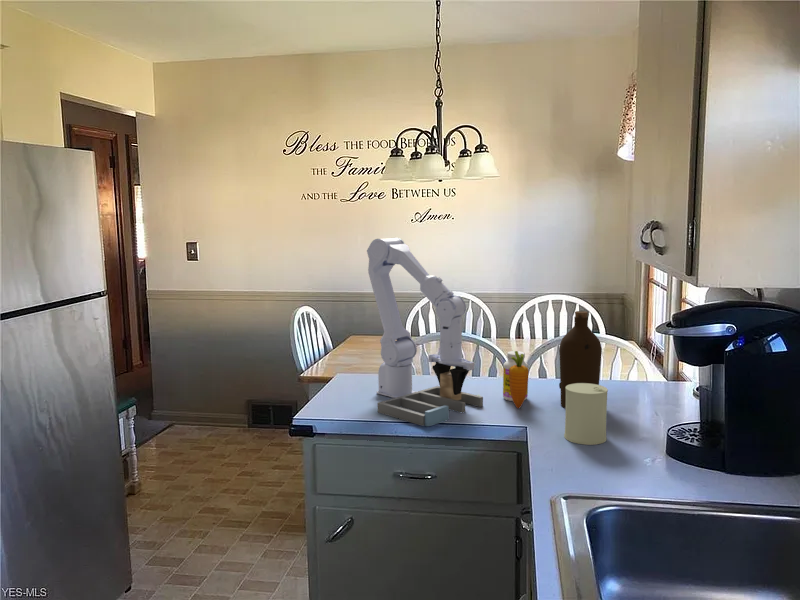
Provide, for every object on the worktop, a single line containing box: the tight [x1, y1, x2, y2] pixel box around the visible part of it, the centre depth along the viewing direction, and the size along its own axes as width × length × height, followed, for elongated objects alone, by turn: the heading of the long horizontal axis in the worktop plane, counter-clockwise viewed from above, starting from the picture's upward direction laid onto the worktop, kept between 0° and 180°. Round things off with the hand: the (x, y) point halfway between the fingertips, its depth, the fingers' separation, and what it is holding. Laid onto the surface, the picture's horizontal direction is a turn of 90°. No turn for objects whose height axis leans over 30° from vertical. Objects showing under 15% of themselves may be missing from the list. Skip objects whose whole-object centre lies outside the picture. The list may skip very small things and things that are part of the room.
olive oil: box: [558, 310, 603, 409], centre depth 171 cm, size 11×11×25 cm
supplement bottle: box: [502, 350, 529, 402], centre depth 179 cm, size 7×7×13 cm
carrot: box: [509, 350, 530, 410], centre depth 170 cm, size 5×5×15 cm
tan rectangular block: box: [439, 371, 461, 401], centre depth 175 cm, size 4×4×7 cm
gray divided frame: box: [377, 385, 484, 427], centre depth 171 cm, size 17×23×4 cm
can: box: [563, 383, 609, 446], centre depth 147 cm, size 9×9×12 cm
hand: (450, 392), depth 175 cm, fingers closed on tan rectangular block, 4 cm apart
